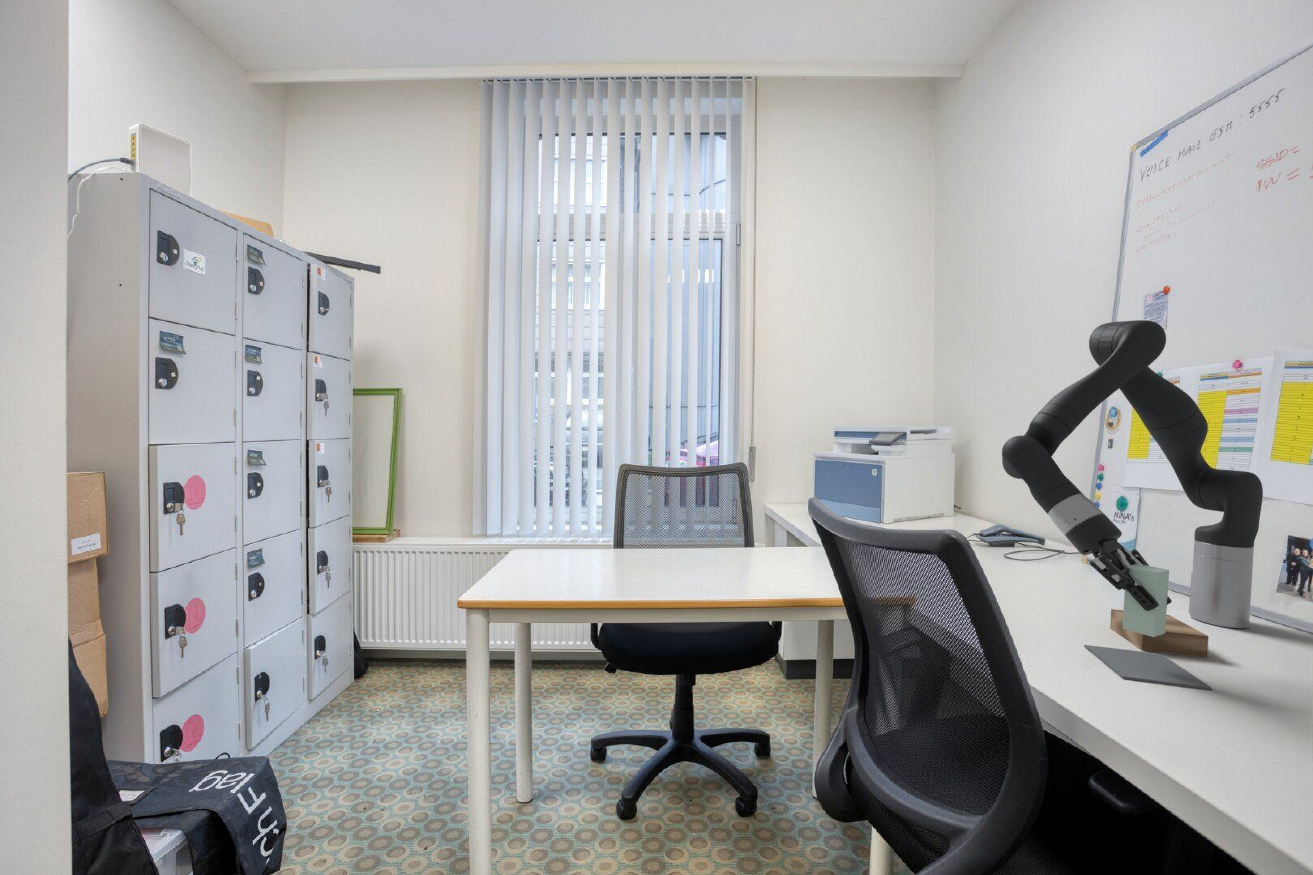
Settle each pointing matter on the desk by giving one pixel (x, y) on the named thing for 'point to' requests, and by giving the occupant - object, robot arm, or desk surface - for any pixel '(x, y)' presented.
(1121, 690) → the desk surface
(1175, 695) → the desk surface
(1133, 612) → the sage block
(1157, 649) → the walnut block
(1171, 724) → the desk surface
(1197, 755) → the desk surface
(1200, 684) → the charcoal mat
